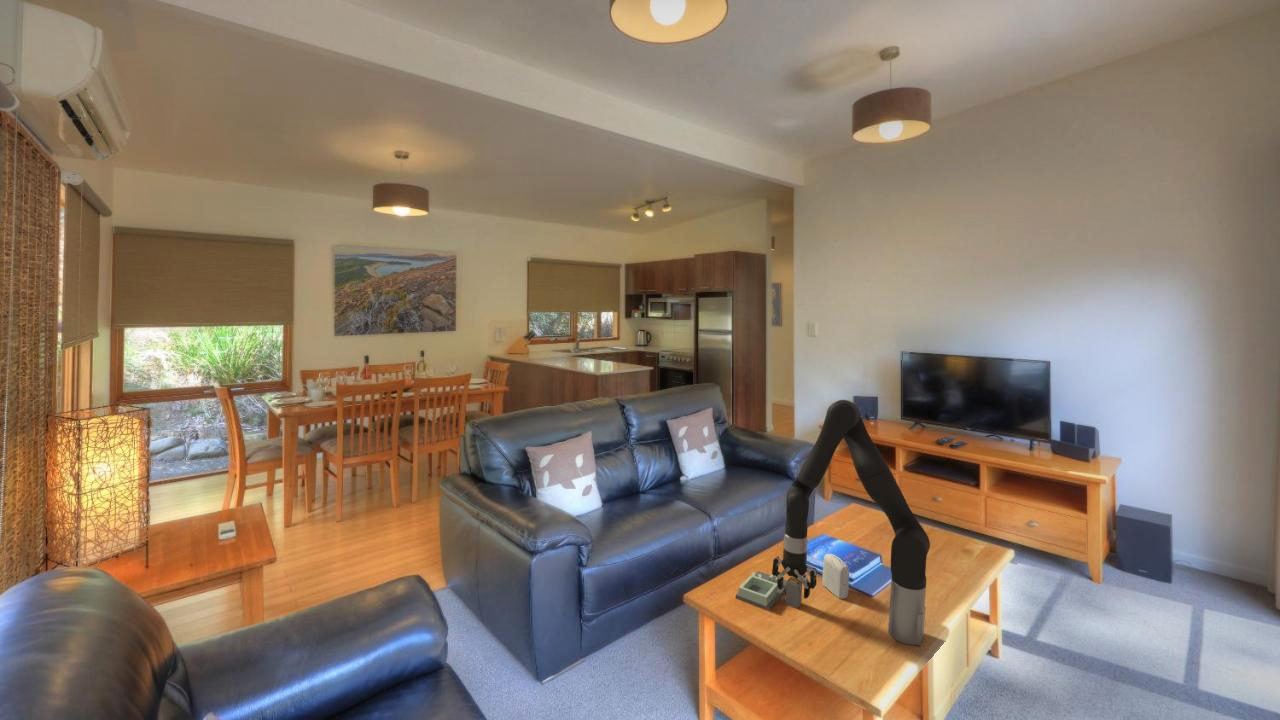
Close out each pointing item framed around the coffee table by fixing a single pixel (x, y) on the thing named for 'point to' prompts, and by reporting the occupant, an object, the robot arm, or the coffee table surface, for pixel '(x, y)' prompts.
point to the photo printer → (835, 576)
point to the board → (763, 591)
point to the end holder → (757, 596)
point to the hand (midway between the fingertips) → (793, 592)
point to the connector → (793, 592)
